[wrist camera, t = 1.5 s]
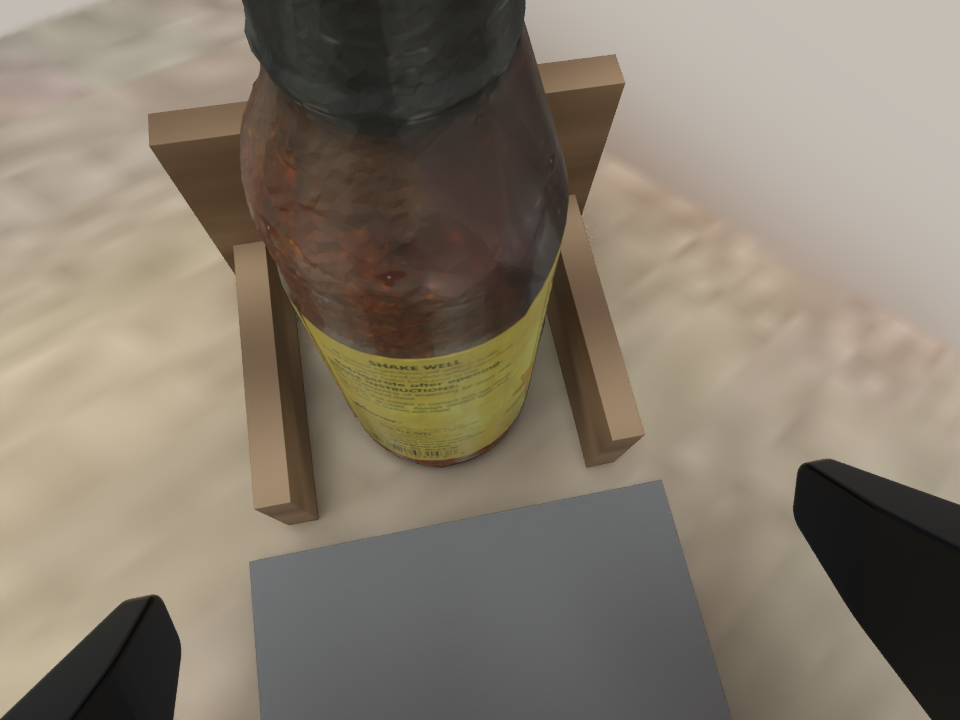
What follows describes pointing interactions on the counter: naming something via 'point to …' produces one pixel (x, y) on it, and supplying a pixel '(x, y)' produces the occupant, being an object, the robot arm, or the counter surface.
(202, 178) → the bottle rack
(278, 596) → the charcoal mat
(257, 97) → the sauce bottle
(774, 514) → the counter surface
